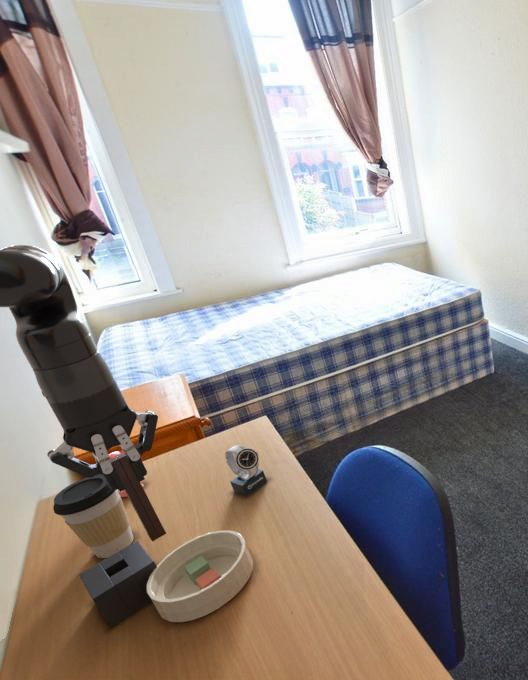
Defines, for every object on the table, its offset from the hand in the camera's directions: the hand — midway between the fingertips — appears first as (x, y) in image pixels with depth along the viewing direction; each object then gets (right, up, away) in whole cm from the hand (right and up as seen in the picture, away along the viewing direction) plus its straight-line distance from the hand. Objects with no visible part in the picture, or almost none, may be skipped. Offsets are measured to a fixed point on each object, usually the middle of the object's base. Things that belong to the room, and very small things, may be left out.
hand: (131, 483), depth 73 cm
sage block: (+2, -21, +14) cm, 25 cm away
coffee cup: (-22, -20, +24) cm, 38 cm away
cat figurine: (-32, -14, +40) cm, 53 cm away
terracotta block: (+6, -22, +11) cm, 25 cm away
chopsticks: (+1, -10, +4) cm, 11 cm away
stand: (-9, -24, +12) cm, 28 cm away
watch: (-2, -12, +37) cm, 39 cm away
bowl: (+4, -22, +12) cm, 26 cm away
